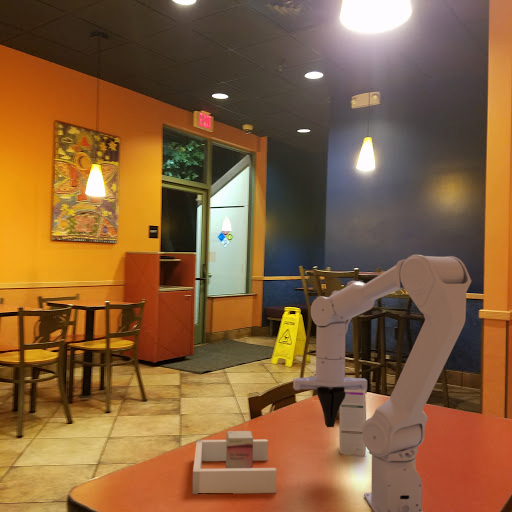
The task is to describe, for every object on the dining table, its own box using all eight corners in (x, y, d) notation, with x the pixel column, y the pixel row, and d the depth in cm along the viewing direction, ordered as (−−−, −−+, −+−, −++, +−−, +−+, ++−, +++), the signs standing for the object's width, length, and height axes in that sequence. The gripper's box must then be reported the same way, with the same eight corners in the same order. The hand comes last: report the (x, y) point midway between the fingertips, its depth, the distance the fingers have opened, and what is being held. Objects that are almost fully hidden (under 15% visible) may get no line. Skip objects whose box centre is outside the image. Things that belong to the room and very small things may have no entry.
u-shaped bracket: (276, 492, 91) (276, 470, 91) (192, 494, 90) (192, 471, 90) (267, 458, 107) (267, 439, 107) (196, 459, 106) (196, 439, 106)
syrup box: (366, 457, 109) (366, 389, 109) (338, 454, 110) (339, 387, 111) (365, 447, 115) (366, 383, 115) (339, 445, 116) (340, 382, 116)
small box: (226, 479, 96) (227, 438, 96) (225, 470, 100) (226, 430, 101) (252, 478, 97) (253, 437, 97) (250, 469, 101) (251, 430, 101)
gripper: (360, 353, 105) (359, 419, 105) (291, 353, 104) (290, 419, 103) (370, 360, 98) (369, 430, 98) (296, 359, 97) (295, 430, 96)
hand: (329, 425), depth 100 cm, fingers closed
